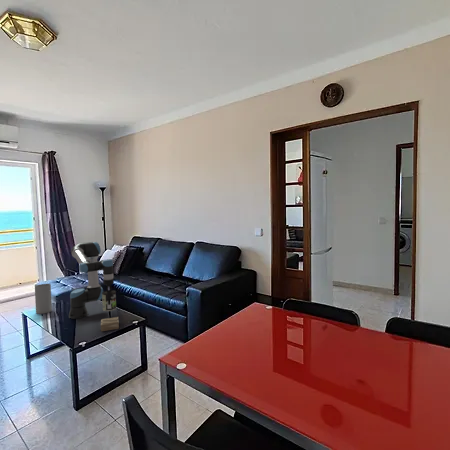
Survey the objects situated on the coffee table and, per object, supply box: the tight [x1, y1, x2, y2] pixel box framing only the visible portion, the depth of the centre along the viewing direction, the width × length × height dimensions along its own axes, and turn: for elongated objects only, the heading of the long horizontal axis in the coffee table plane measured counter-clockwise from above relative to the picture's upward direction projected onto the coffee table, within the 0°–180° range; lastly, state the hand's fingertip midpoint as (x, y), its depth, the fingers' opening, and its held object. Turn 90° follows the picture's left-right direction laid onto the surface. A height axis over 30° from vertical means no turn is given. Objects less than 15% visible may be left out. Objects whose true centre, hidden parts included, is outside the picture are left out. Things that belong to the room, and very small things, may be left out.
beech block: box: [100, 316, 120, 332], centre depth 232 cm, size 13×13×5 cm
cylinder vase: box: [34, 283, 53, 315], centre depth 268 cm, size 12×12×25 cm
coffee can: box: [101, 289, 117, 312], centre depth 231 cm, size 10×10×14 cm
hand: (109, 306), depth 231 cm, fingers closed on coffee can, 10 cm apart
